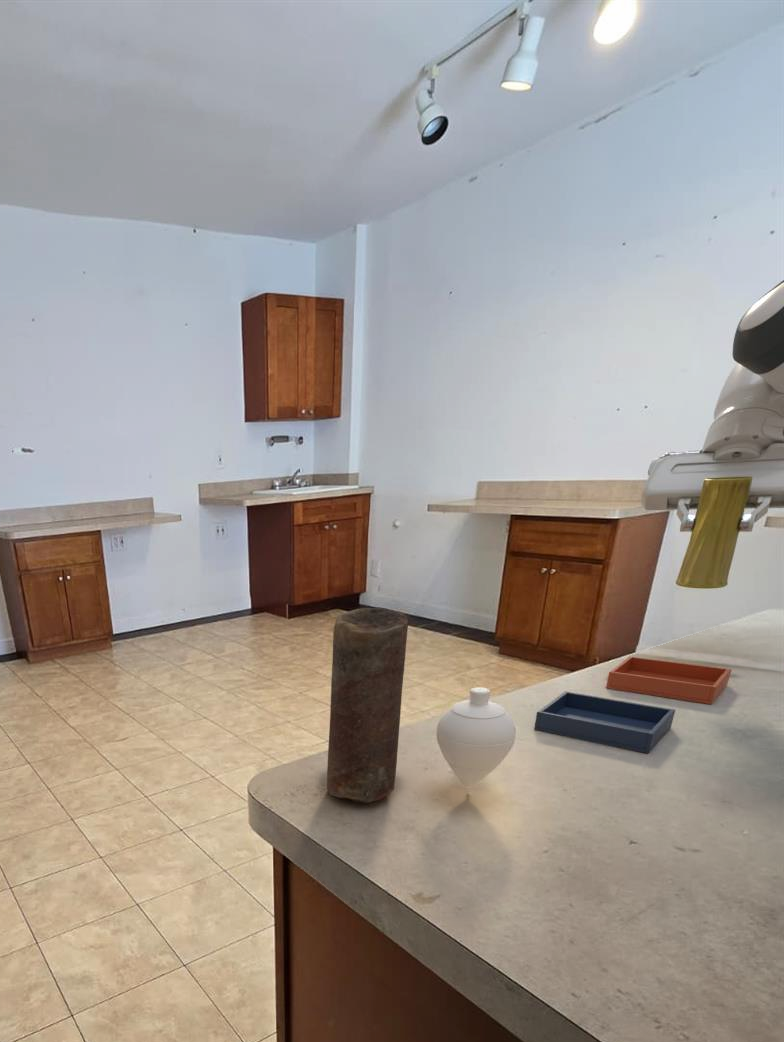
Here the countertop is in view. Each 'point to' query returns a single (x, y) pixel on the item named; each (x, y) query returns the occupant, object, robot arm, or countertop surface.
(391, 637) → the candle
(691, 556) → the vase
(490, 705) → the spinning top
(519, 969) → the countertop surface
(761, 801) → the countertop surface
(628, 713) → the blue tray
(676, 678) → the terracotta tray
